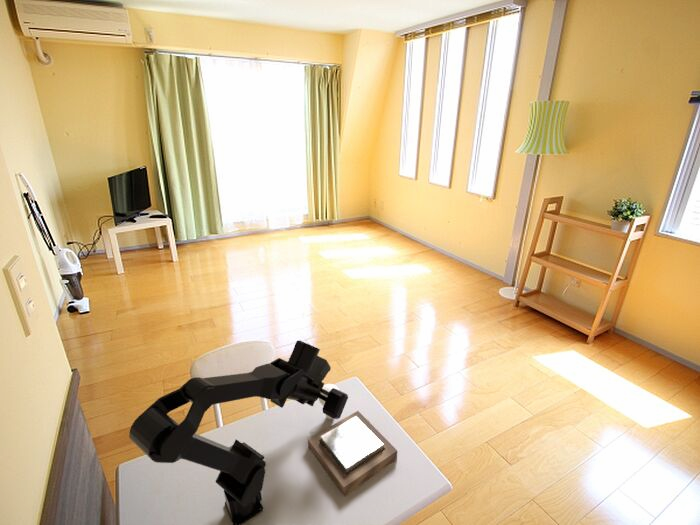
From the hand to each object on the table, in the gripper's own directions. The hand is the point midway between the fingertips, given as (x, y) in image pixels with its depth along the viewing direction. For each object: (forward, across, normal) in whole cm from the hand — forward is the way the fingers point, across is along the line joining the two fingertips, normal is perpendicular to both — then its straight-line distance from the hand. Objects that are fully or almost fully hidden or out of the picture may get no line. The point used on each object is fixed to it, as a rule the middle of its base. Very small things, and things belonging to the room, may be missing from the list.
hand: (328, 395), depth 99 cm
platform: (0, -12, +8) cm, 14 cm away
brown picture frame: (+2, -12, +10) cm, 15 cm away
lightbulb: (+6, 0, +6) cm, 9 cm away
